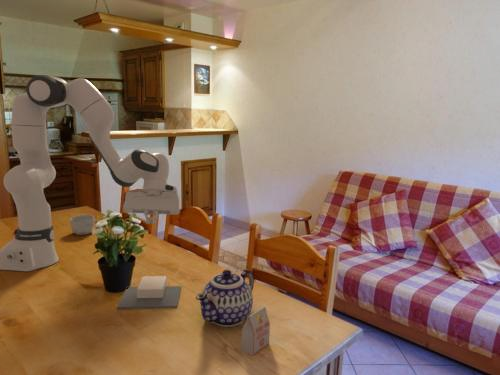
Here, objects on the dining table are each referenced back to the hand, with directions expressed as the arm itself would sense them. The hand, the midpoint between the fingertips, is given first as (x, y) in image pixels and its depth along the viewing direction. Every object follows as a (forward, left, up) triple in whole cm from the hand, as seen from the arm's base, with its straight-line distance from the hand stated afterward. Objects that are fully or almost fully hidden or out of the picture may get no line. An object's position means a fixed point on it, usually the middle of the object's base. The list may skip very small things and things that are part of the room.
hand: (149, 222), depth 142 cm
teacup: (-40, +50, -19) cm, 67 cm away
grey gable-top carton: (+34, -49, -19) cm, 63 cm away
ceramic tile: (+3, -12, -17) cm, 21 cm away
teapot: (+27, -34, -19) cm, 47 cm away
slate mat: (+3, -20, -19) cm, 28 cm away
